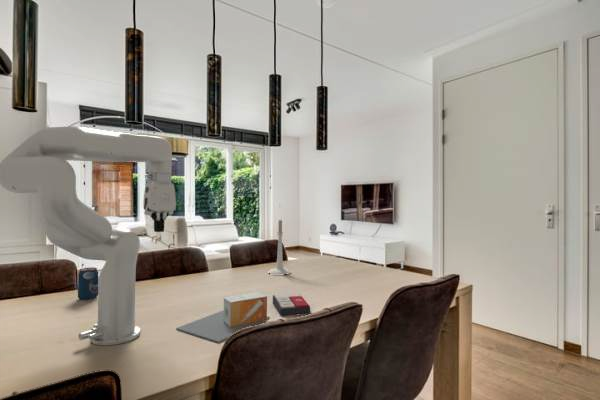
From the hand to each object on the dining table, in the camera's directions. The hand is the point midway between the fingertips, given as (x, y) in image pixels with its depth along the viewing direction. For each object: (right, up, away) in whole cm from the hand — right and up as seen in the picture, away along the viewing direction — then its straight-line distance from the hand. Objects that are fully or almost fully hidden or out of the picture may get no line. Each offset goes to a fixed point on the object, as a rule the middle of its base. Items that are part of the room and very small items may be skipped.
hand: (159, 231), depth 116 cm
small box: (+25, -25, -9) cm, 37 cm away
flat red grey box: (+45, -30, +10) cm, 55 cm away
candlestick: (+38, -30, +70) cm, 85 cm away
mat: (+25, -29, -7) cm, 39 cm away
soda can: (-36, -29, +18) cm, 50 cm away
